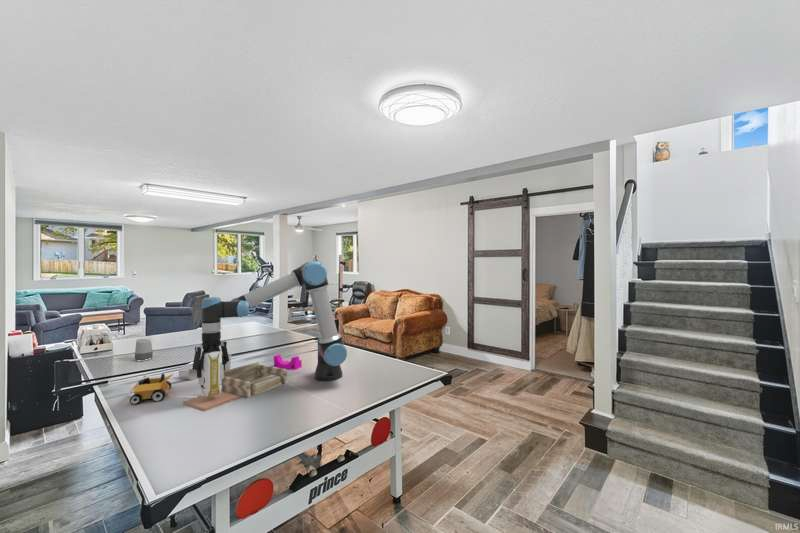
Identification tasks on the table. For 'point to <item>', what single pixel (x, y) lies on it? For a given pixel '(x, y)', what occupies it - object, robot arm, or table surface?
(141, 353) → the smart speaker
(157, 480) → the table surface
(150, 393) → the yellow toy car
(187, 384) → the table surface
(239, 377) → the birch rack
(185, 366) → the vr headset
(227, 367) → the teacup
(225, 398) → the pad
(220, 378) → the juice carton
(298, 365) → the toy block
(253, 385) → the offcut stack
